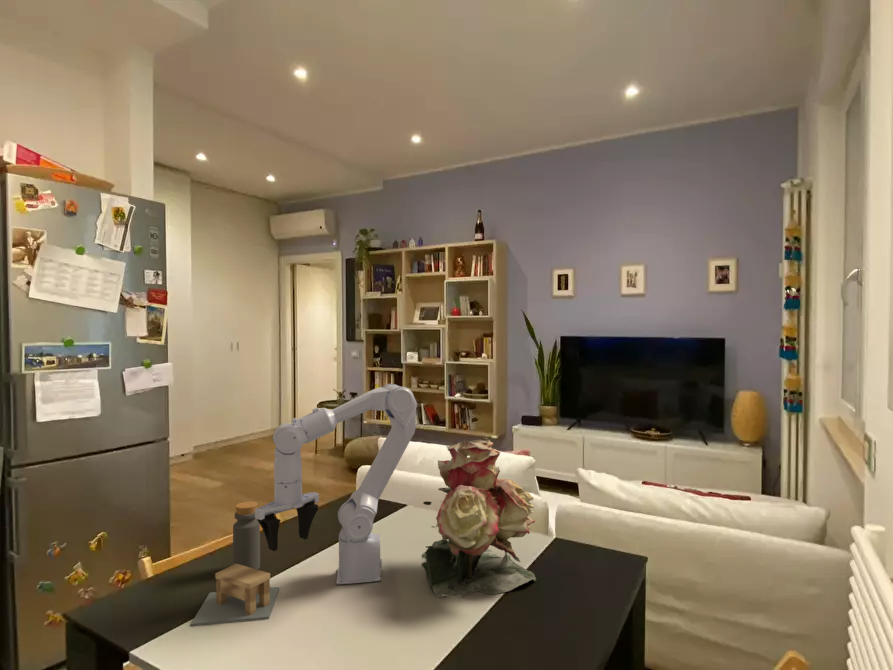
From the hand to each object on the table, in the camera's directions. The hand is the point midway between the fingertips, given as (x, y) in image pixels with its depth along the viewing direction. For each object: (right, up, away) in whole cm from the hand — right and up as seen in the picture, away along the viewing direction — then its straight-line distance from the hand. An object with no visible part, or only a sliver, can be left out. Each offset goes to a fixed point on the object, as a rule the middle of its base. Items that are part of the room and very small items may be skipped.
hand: (288, 543), depth 110 cm
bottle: (-13, -10, +9) cm, 18 cm away
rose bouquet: (+42, -9, +7) cm, 43 cm away
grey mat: (-8, -9, -7) cm, 14 cm away
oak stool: (-7, -9, -7) cm, 13 cm away
